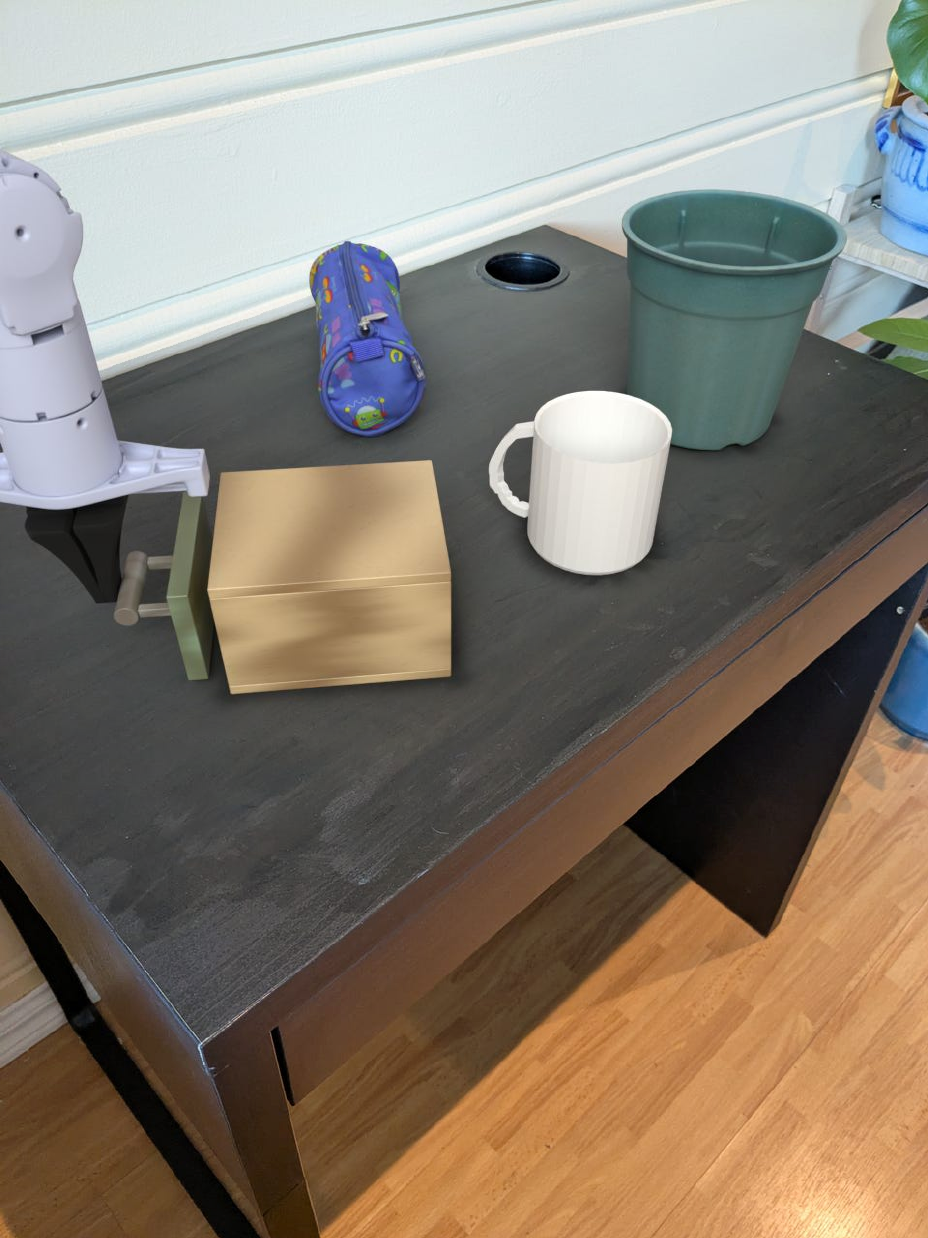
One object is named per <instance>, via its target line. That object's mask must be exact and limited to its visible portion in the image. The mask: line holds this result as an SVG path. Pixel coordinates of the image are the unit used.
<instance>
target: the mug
mask: <svg viewBox="0 0 928 1238" xmlns="http://www.w3.org/2000/svg"><path fill="white" fill-rule="evenodd" d="M671 435H672V428H671V424H670V422H669V420H668V419H667V417H666V416H665V415H664V414H663V413H662V412H661V411H660V410H659V409H657V408H656V407H654V406H653V405H651V404H650V403H648V402H645V401H643V400H641V399H639V398H635V397H632V396H629V395H627V394H625V393H620V392H616V391H615V392H614V391H606V390H585V391H576V392H572V393H566V394H563V395H560V396H557V397H555V398H553V399H551V400H549V401H547V402H546V403H545V404H543V405H542V406H541V407H540V408H539V409H538V411H537V412H536V414H535V417H534V420H533V421H526V422H520V423H516V424H515V425H514V426H513V427H512V428H511V429H510V430H509V431H508V432H507V433H506V434H505V435H503V438H502V439H501V441H500V442H499V444H498V445H497V447H496V448H495V450H494V453H493V454H492V457H491V459H490V462H489V463H488V464H489V465H488V474H489V487H490V488H491V489H492V491H493V492H494V494H497V497H498V499H499V501H500V503H501V505H502V506H504V507H505V508H506V509H507V510H508V511H510V512H511V513H513V514H515V515H516V516H518V517H521V518H524V519H525V518H527V524H526V525H527V526H526V527H527V528H526V530H527V531H526V532H527V537H528V540H529V544H530V545H531V546H532V548H533V549H534V551H535V552H536V553H537V555H539V556H540V558H542V559H543V560H544V561H546V562H547V563H549V564H551V565H552V566H554V567H556V568H559V569H560V570H563V571H566V572H570V573H574V574H579V575H586V576H604V575H613V574H617V573H621V572H624V571H626V570H628V569H632V568H633V567H634V566H635V565H637V564H639V563H640V562H641V561H642V560H643V559H644V558H645V557H646V556H647V555H648V554H649V552H650V550H651V549H652V546H653V543H654V537H655V530H656V525H657V520H658V514H659V508H660V502H661V499H662V498H661V497H662V491H663V485H664V480H665V474H666V469H667V464H668V458H669V452H670V446H671V444H670V441H671ZM532 437H533V438H532ZM525 438H532V448H531V449H532V450H531V464H530V465H531V467H530V480H529V495H528V502H526V501H523V500H521V501H520V499H519V498H518V497H517V496H516V495H513V491H512V490H510V488H509V485H508V484H507V482H506V481H505V472H504V462H505V458H506V454H507V451H508V449H509V447H510V446H511V445H512V444H513V443H514V442H515V441H516V440H518V439H525Z"/></svg>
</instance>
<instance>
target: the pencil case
mask: <svg viewBox="0 0 928 1238" xmlns="http://www.w3.org/2000/svg"><path fill="white" fill-rule="evenodd" d="M308 278H309V280H308V281H309V289H310V294H311V297H312V299H313V300H314V303H315V320H316V327H317V331H318V339H319V364H320V365H319V366H320V369H319V374H318V381H317V382H318V383H317V387H318V388H317V392H318V398H319V400H320V402H321V405H322V407H323V410H324V411H325V413H326V415H327V417H328V418H329V419H330V420H331V421H332V422H333V423H334V424H335V425H336V426H337V427H338V428H340V429H341V430H344V431H345V432H348V433H350V434H354V435H356V436H357V435H358V436H360V437H364V438H372V437H377V436H381V435H383V434H385V433H387V432H390V431H391V430H393V429H395V428H397V427H398V426H400V425H402V424H404V423H406V421H407V420H408V419H410V417H411V416H412V415H413V414H414V413H415V412H416V410H417V409H418V408H419V406H420V404H421V403H422V400H423V398H424V394H425V391H426V385H427V384H426V383H427V377H426V369H425V365H424V361H423V359H422V356H421V355H420V353H419V352H418V350H417V349H416V348H415V346H413V341H412V337H411V334H410V333H409V331H408V329H407V328H406V326H405V323H404V322H403V320H402V304H401V299H400V289H401V280H400V279H401V278H400V273H399V270H398V267H397V265H396V264H395V262H394V260H393V258H392V257H391V256H390V255H388V254H387V252H385V251H384V250H382V249H380V248H379V247H376V246H374V245H369V244H365V243H360V242H359V243H355V242H351V241H350V240H344V242H342V243H341V244H336V246H333V247H331V248H329V249H327V250H325V251H324V252H323V253H321V254H320V255H318V256H317V258H315V259H314V261H313V262H312V265H311V267H310V271H309V276H308Z"/></svg>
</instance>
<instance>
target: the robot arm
mask: <svg viewBox="0 0 928 1238" xmlns="http://www.w3.org/2000/svg"><path fill="white" fill-rule="evenodd" d="M61 191H62V188H61V187H60V186H59V184H58V183H57V181H56V180H54V179H53V178H52V176H51V175H50V174H49V173H47V172H45V171H44V170H43V169H42V168H40V167H39V166H37V165H35V164H33V163H31V162H29V161H26V160H25V159H22V158H20V157H18V156H17V155H14V154H12V153H10V152H8V151H6V150H5V149H4V150H3V149H2V148H0V446H1V448H2V452H0V503H4V504H9V505H18V506H23V507H26V509H25V511H26V512H25V513H26V515H27V516H26V519H25V522H24V529H25V532H26V534H27V535H28V537H29V539H30V540H31V541H32V542H34V543H36V544H38V545H40V546H41V547H43V548H44V549H46V550H47V551H49V553H51V554H52V555H54V556H55V557H56V558H57V559H59V560H60V562H61V563H62V564H64V565H65V566H66V567H67V569H69V570H70V571H71V573H72V574H73V575H74V576H75V577H76V578H77V579H78V581H79V582H80V583H81V584H82V586H83V587H84V588H85V589H86V592H88V594H89V595H90V596H91V598H92V600H93V601H94V603H95V604H97V605H98V604H99V605H100V604H111V603H117V598H118V594H119V589H120V584H121V580H122V573H121V561H120V560H121V538H122V529H123V521H124V518H125V512H126V510H127V509H126V508H127V504H128V501H129V500H128V499H129V495H138V494H155V493H170V492H171V493H173V492H185V491H187V492H188V495H189V496H191V497H199V496H204V497H207V496H208V494H209V488H210V478H211V476H210V470H209V465H208V460H207V456H206V450H205V449H204V448H177V447H168V446H160V445H155V444H147V443H140V442H132V441H125V440H119V439H118V437H117V433H116V430H115V426H114V422H113V418H112V416H111V412H110V408H109V404H108V401H107V398H106V394H105V390H104V386H103V382H102V378H101V375H100V370H99V367H98V364H97V360H96V356H95V353H94V349H93V345H92V342H91V337H90V333H89V331H88V327H87V323H86V319H85V315H84V312H83V308H82V305H81V301H80V299H79V296H78V293H77V289H76V285H75V282H74V273H75V268H76V265H77V263H78V262H79V259H80V256H81V253H82V248H83V242H84V224H83V218H82V214H81V213H80V212H79V211H74V210H73V209H72V208H71V207H70V204H69V200H68V199H67V197H66V196H64V195H62V194H61Z"/></svg>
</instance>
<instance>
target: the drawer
mask: <svg viewBox="0 0 928 1238" xmlns="http://www.w3.org/2000/svg"><path fill="white" fill-rule="evenodd" d="M182 492H183V493H182V498H181V504H180V511H179V516H178V521H177V522H178V523H177V529H176V535H175V541H174V547H173V553H172V555H159V556H148V555H147V554H146V553H145V552H143V551H141V550H134V551H130V552H129V553H128V554H127V555H126V558H125V562H124V566H123V571H122V574H121V579H122V580H121V584H120V589H119V594H118V598H117V602H115V608H114V613H113V618H114V621H115V622H116V623H117V624H120V625H121V626H124V627H129V626H133V625H135V624H136V623H137V622H138V621H139V619H140V618H142V619H143V618H153V617H154V618H155V617H156V618H157V617H169V616H170V617H171V620H172V624H173V626H174V627H173V628H174V633H175V636H176V639H177V642H178V643H177V644H178V646H179V650H180V651H179V652H180V654H181V658H182V662H183V666H184V668H185V674H186V677H187V680H188V681H199V680H208V679H209V676H210V667H211V665H210V664H211V656H212V648H213V636H214V629H215V628H214V627H215V622H214V617H213V613H212V609H211V604H210V600H209V595H208V591H207V588H208V579H209V570H210V562H211V553H212V545H213V534H212V529H211V524H210V520H209V516H208V511H207V506H206V502H205V496H199V497H191V496H189V495H188V492H187V491H182ZM165 569H166V570H167V569H168V570H169V569H170V571H169V578H168V585H167V590H166V597H165V598H166V601H167V602H156V603H155V602H154V603H143V604H142V602H143V598H144V594H145V593H144V592H145V587H146V583H147V577H148V571H153V570H165Z"/></svg>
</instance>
